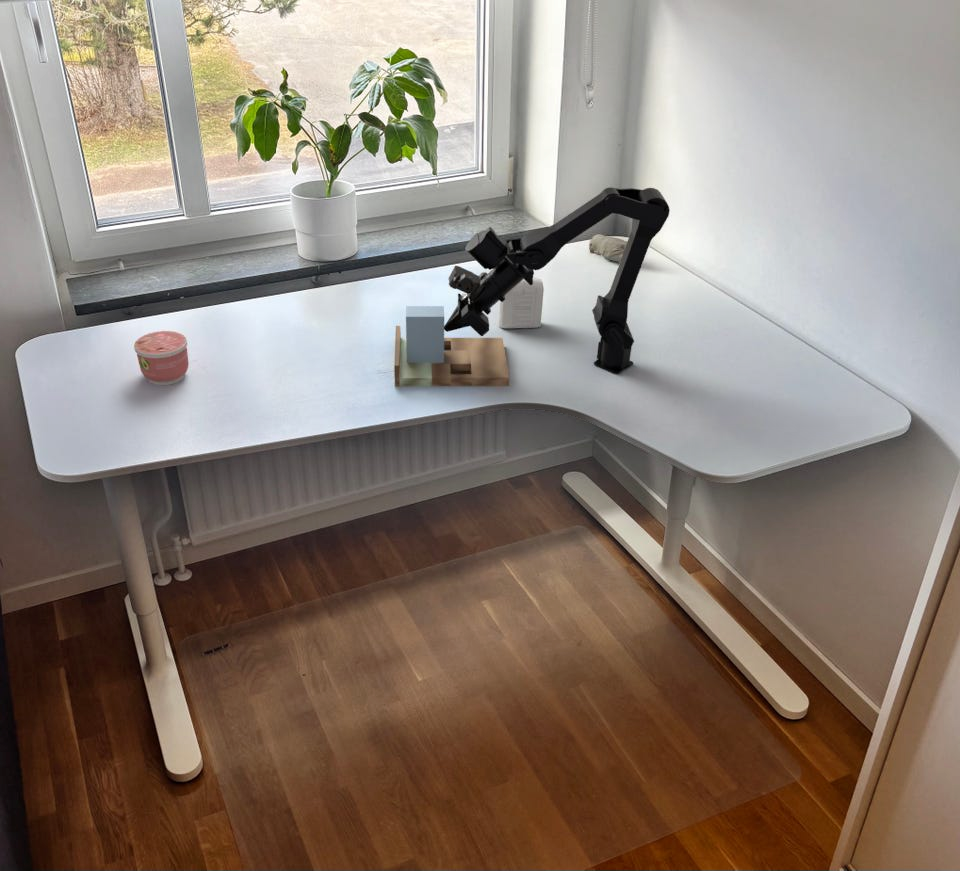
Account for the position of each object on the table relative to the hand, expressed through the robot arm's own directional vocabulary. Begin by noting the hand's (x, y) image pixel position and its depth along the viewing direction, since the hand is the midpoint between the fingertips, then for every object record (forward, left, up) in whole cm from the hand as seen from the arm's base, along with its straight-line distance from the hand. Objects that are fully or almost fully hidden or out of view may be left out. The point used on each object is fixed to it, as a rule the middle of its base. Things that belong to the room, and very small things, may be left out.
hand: (445, 329), depth 203 cm
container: (+39, +45, -9) cm, 60 cm away
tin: (+3, +3, -7) cm, 8 cm away
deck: (-2, -2, -9) cm, 9 cm away
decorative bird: (+7, -74, -9) cm, 75 cm away
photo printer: (+1, -26, -9) cm, 28 cm away
